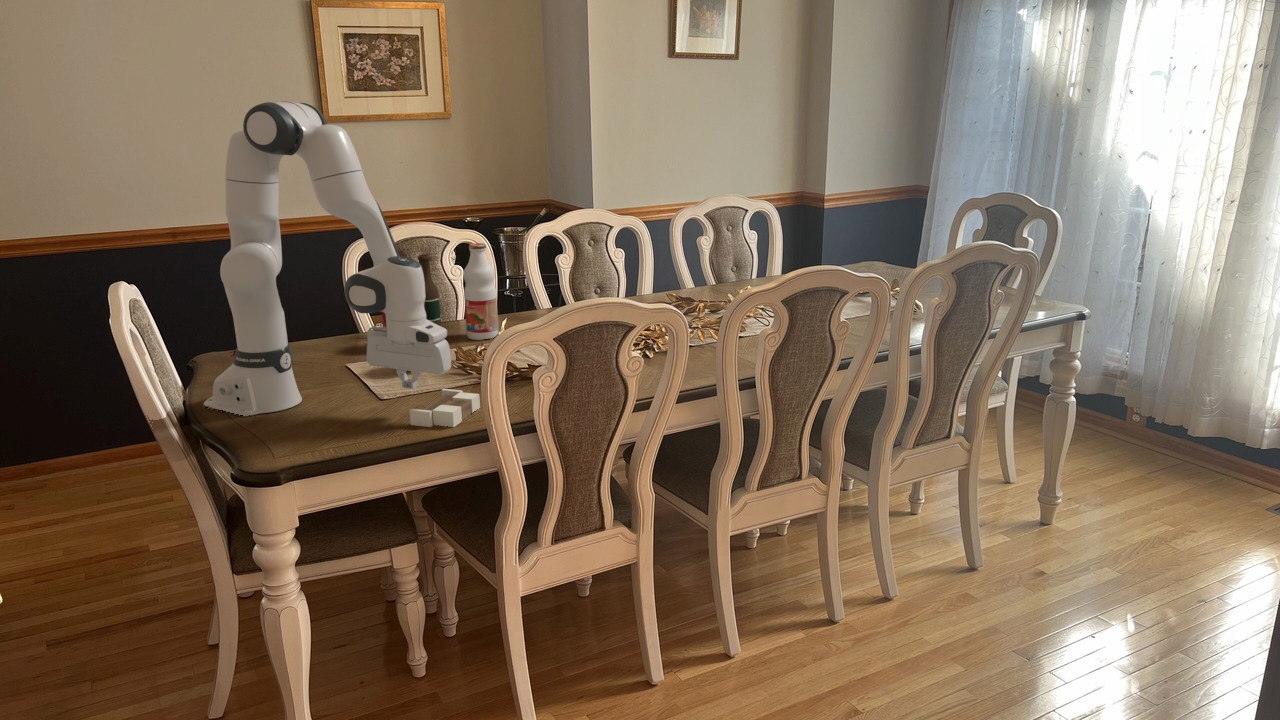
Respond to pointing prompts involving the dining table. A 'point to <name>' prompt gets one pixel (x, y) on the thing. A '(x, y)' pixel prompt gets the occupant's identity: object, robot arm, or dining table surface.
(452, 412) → the cream T dock
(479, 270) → the fruit juice
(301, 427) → the dining table surface
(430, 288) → the beer bottle
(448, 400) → the walnut T block
